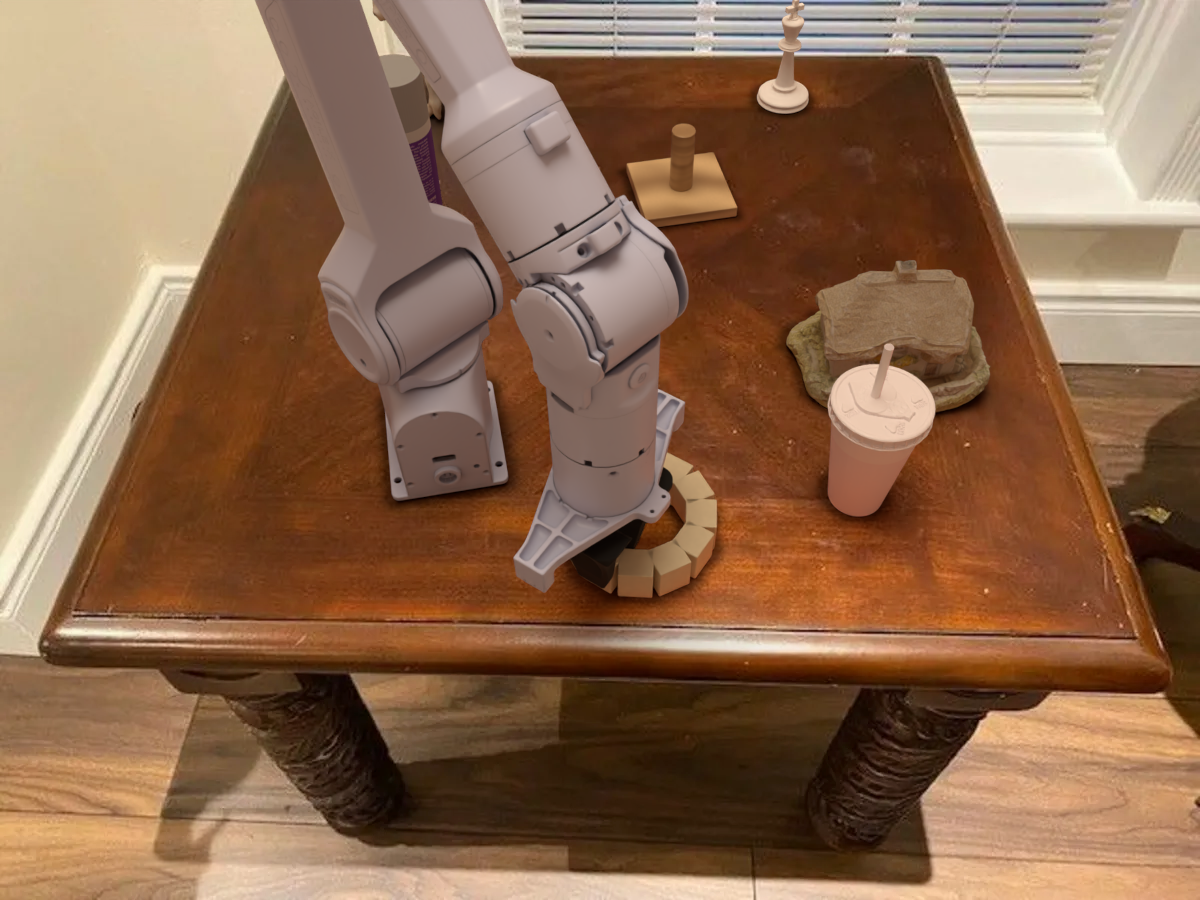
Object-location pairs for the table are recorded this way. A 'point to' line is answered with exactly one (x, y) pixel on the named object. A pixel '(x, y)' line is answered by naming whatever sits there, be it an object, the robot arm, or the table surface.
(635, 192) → the post stand
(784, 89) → the chess piece
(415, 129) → the container
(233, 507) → the table surface
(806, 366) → the ceramic model
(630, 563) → the block ring
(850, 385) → the smoothie
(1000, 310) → the table surface
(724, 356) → the table surface
